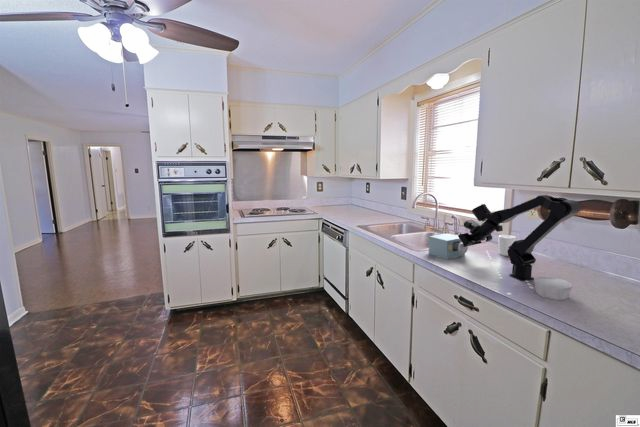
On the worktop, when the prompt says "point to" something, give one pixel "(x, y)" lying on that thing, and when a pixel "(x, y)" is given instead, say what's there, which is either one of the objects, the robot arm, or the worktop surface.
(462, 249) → the plug
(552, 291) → the ramekin
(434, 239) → the socket block
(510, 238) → the white cup
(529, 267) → the robot arm
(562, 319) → the worktop surface
